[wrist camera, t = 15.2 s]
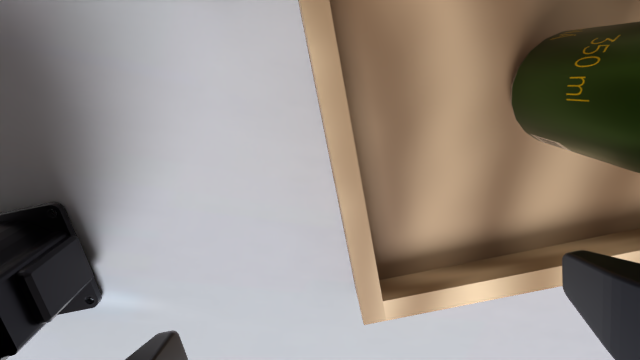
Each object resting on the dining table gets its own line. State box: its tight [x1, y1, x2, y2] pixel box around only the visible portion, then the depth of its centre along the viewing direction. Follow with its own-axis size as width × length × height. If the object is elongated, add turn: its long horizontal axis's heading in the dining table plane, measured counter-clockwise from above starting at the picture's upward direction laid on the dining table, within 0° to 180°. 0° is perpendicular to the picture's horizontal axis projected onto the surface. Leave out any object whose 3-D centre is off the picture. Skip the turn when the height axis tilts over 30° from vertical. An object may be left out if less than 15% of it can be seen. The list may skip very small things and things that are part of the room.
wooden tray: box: [298, 0, 640, 325], centre depth 19 cm, size 18×18×3 cm
